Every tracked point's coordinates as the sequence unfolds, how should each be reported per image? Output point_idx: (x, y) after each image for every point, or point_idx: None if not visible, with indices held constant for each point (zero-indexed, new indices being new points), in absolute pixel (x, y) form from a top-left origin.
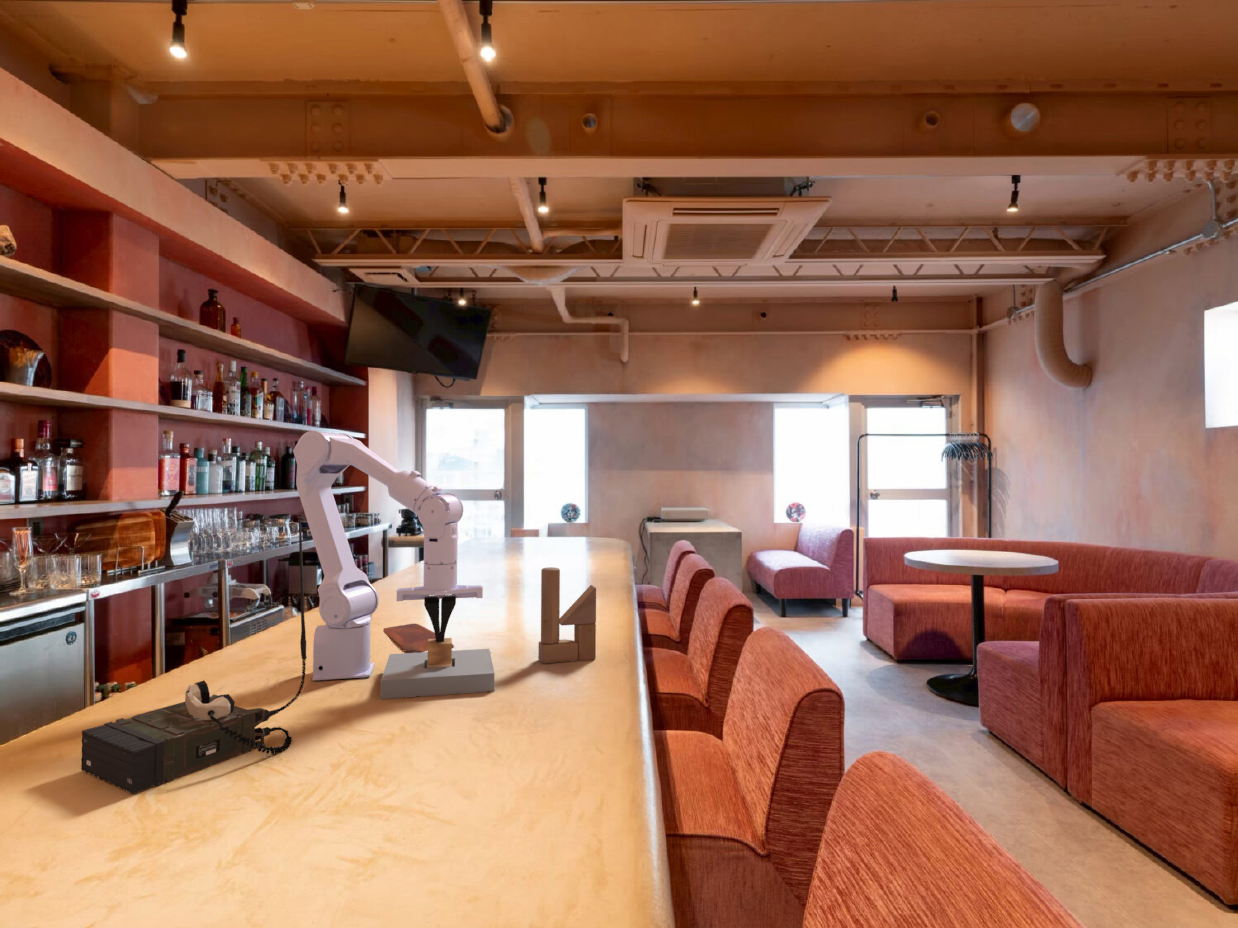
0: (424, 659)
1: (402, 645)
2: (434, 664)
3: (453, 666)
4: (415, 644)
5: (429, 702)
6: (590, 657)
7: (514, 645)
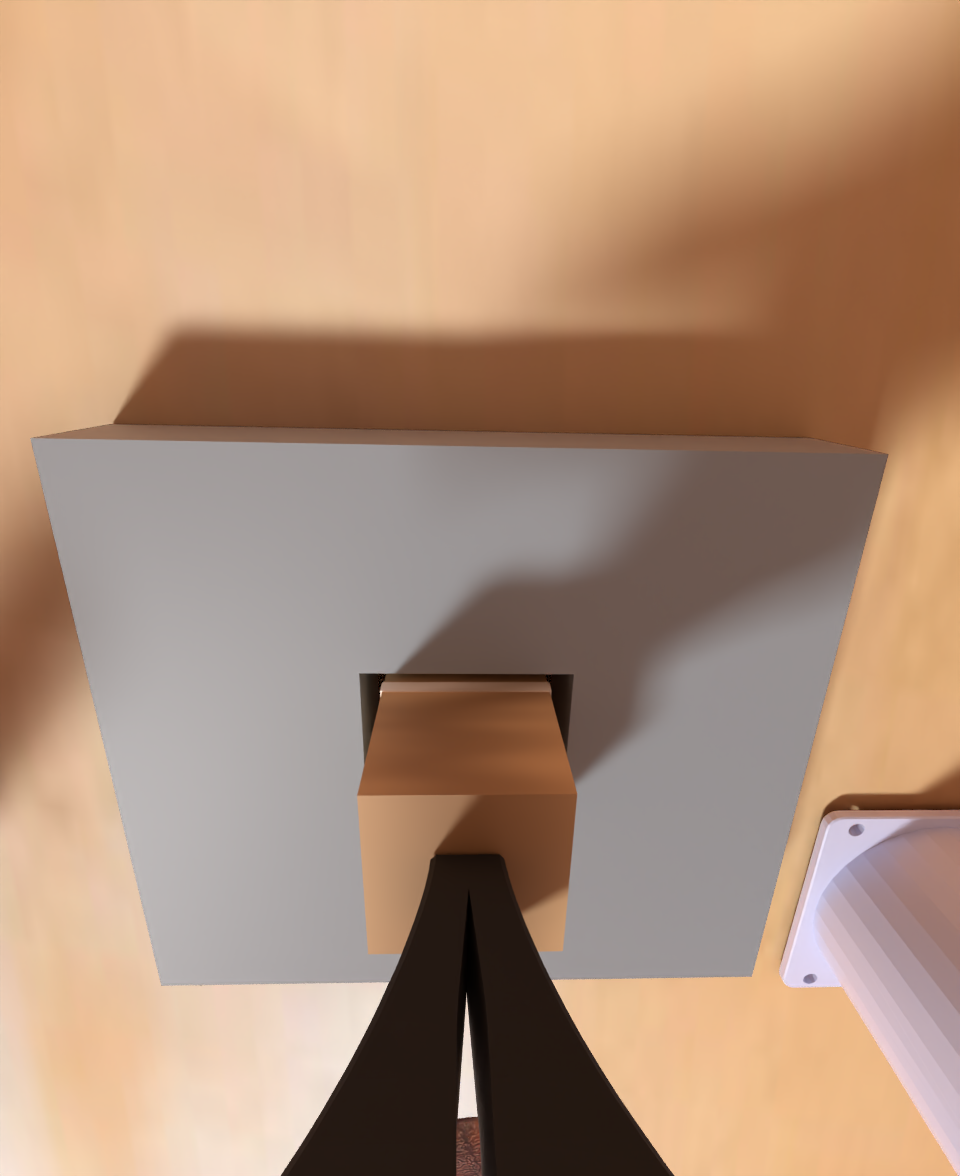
0: None
1: None
2: (501, 694)
3: None
4: None
5: (527, 293)
6: None
7: (102, 1133)
